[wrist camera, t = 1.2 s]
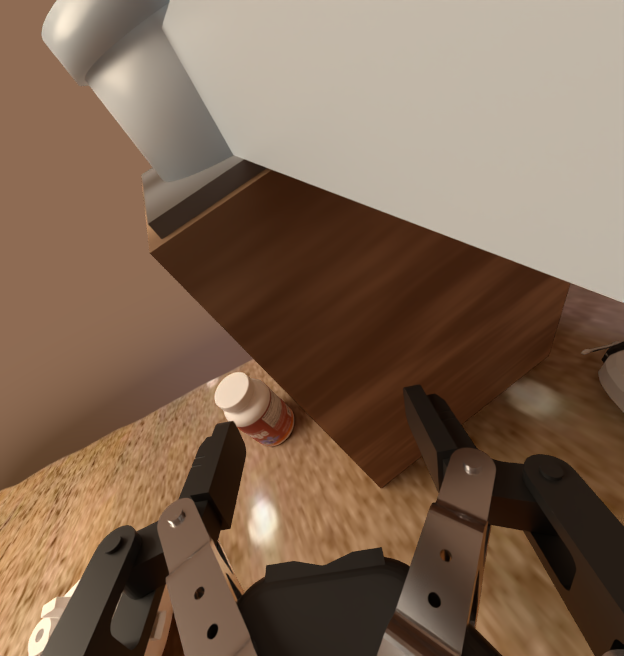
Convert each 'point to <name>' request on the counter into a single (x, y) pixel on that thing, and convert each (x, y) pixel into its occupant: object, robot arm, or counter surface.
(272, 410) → the pill bottle
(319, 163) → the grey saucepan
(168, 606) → the mechanical part
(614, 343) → the robot toy
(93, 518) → the counter surface
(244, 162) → the wooden box
